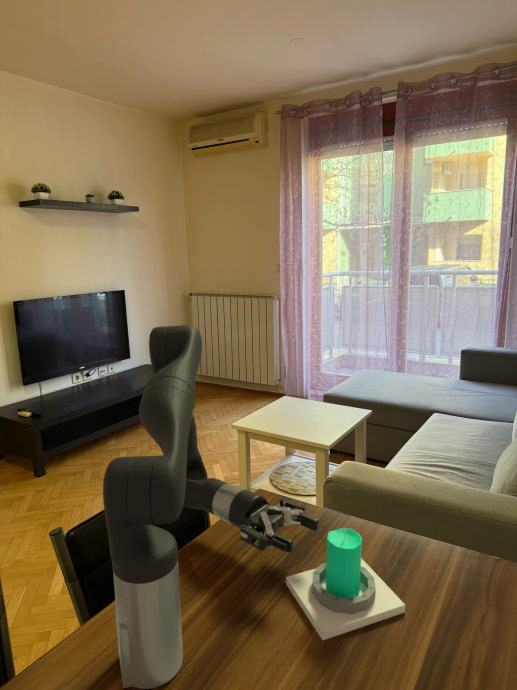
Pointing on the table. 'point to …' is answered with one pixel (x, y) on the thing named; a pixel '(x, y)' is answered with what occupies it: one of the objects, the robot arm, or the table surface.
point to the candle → (343, 563)
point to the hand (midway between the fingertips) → (305, 536)
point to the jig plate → (343, 620)
